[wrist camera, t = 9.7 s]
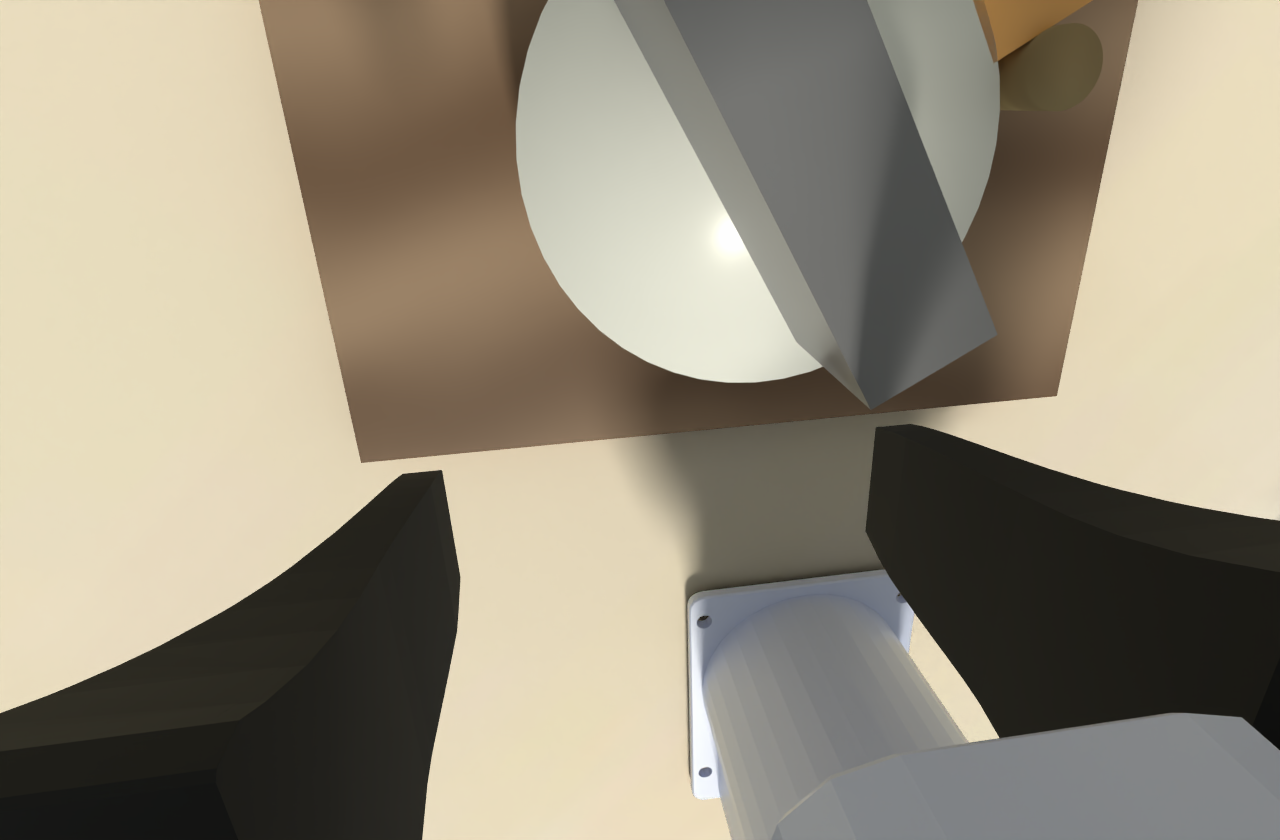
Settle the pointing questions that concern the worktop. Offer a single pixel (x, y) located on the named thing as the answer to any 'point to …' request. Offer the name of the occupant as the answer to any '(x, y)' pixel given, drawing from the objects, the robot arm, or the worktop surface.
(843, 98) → the flange disc
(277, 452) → the worktop surface
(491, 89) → the walnut base
